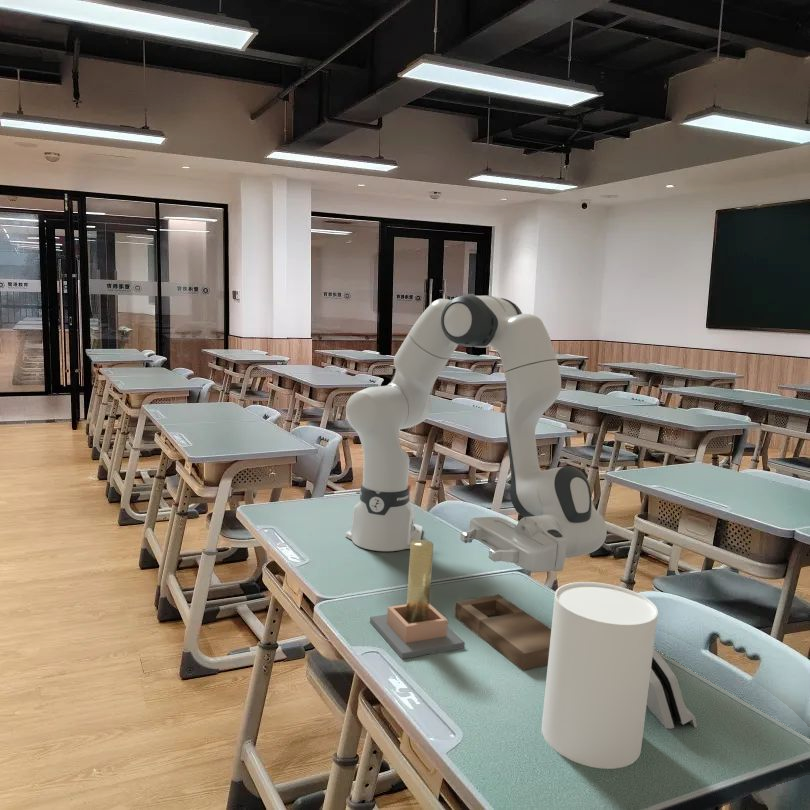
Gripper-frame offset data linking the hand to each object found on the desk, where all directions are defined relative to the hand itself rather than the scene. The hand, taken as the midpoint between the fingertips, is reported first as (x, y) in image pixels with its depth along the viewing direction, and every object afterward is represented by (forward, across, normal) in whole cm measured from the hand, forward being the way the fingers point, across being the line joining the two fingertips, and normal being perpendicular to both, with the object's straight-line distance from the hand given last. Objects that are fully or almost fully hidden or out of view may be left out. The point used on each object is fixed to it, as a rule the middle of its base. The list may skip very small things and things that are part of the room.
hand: (476, 546), depth 127 cm
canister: (+3, +36, +14) cm, 39 cm away
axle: (+12, +1, +14) cm, 18 cm away
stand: (+12, +1, +15) cm, 19 cm away
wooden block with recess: (-4, +8, +15) cm, 17 cm away
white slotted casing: (-12, +32, +15) cm, 37 cm away
